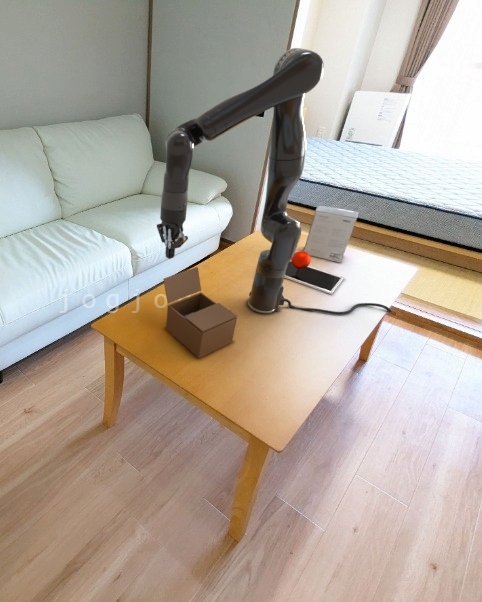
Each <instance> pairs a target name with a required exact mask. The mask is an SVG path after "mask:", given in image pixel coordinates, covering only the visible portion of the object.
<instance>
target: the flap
mask: <svg viewBox="0 0 482 602" xmlns="http://www.w3.org/2000/svg"><path fill="white" fill-rule="evenodd" d="M162 280H163V286H164V291H165V297H166V302H167V304H171V303H174V302H176V301H179V300H182V299H184V298H187V297H189V296H192V295H195V294H197V293H200V292H201V291H202V287H201V285H202V284H201V278H200V272H199V267H198V266H196V267H193V268H191V269H187V270H185V271H182V272H178V273H175V274H173V275H171V276H167V277H165V278H163V279H162Z"/></svg>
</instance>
